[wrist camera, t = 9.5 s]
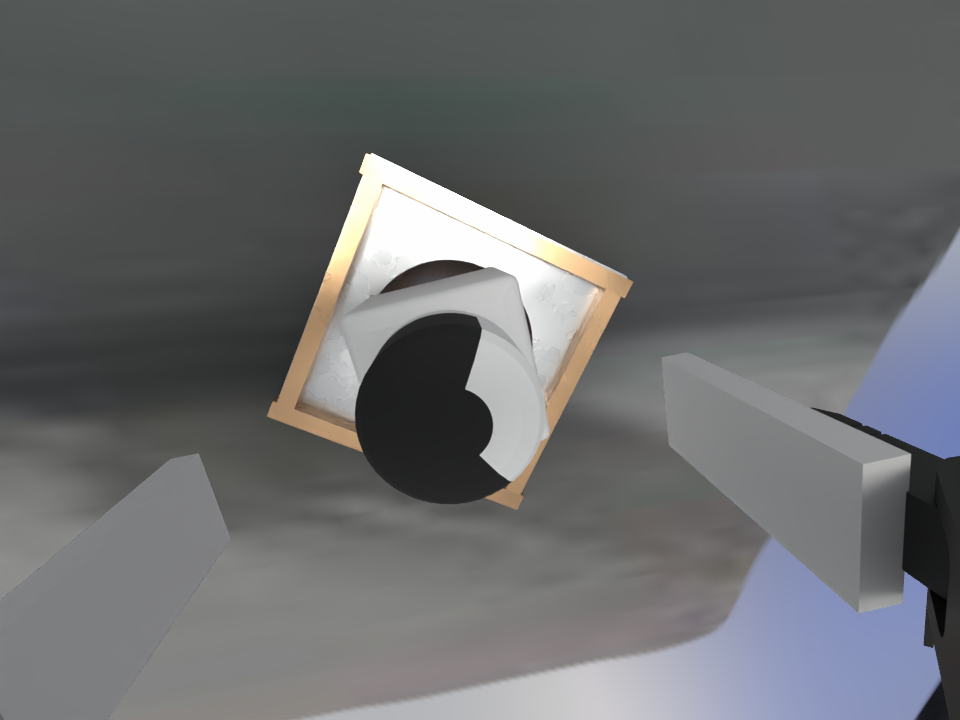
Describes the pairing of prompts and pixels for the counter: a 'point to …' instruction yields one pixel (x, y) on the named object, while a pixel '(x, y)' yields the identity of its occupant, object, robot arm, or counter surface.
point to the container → (447, 386)
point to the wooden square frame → (433, 256)
